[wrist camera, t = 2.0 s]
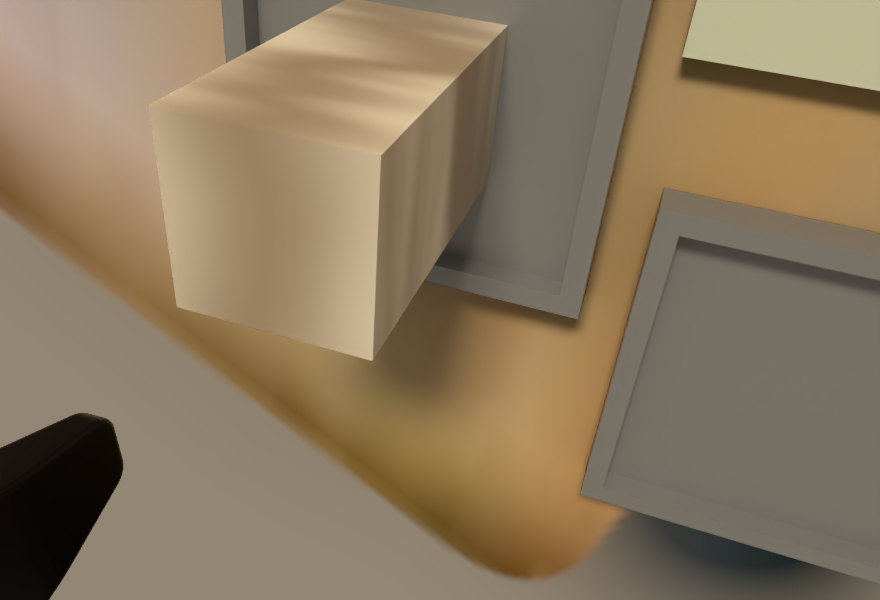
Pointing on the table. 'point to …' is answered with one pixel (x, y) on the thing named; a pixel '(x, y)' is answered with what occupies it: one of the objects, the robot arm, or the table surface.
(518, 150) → the tray
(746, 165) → the table surface
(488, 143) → the tan rectangular block
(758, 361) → the tray
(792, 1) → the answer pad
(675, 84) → the table surface
